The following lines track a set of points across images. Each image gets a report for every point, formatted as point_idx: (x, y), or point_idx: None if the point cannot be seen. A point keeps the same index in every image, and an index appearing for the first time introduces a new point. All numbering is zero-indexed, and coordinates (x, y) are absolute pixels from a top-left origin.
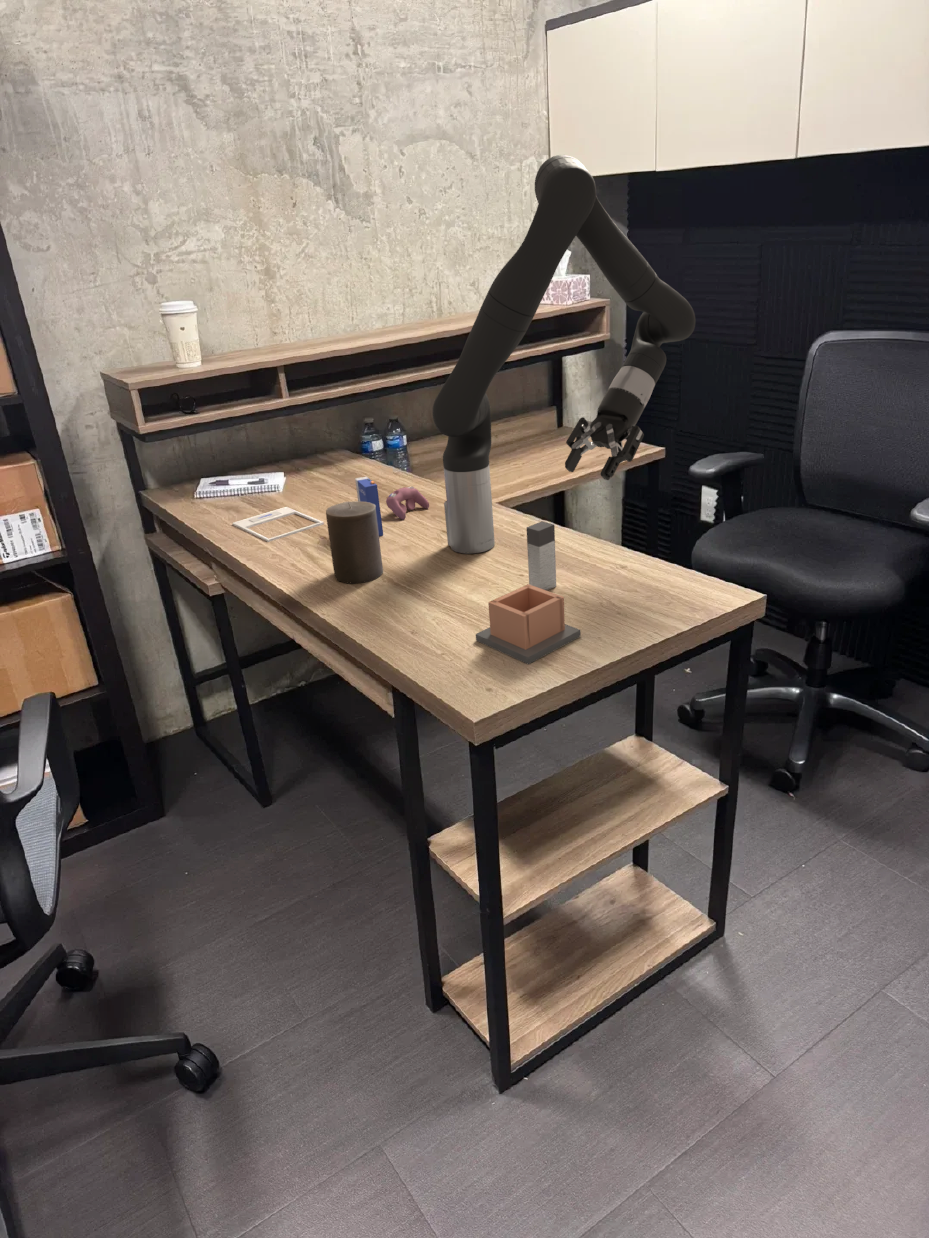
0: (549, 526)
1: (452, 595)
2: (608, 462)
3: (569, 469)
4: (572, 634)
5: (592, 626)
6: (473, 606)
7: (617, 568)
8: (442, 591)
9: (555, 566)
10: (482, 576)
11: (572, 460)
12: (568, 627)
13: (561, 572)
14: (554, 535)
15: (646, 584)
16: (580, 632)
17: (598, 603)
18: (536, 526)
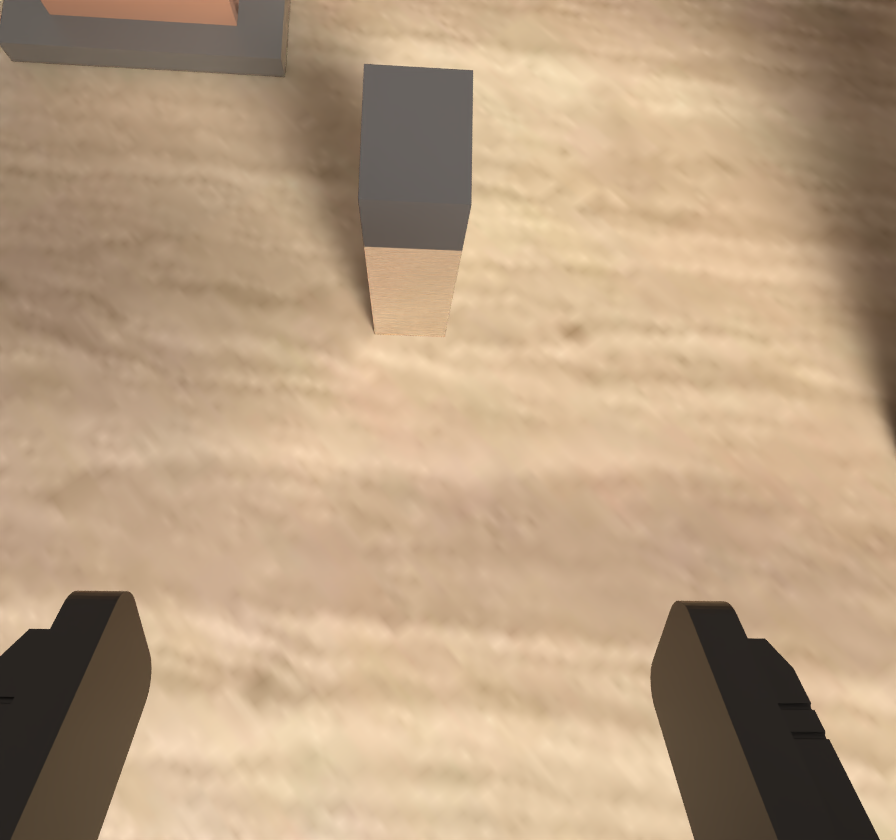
0: (362, 157)
1: (641, 43)
2: (3, 748)
3: (664, 628)
4: (5, 5)
5: (22, 144)
6: (505, 22)
7: (275, 656)
8: (699, 47)
9: (371, 302)
10: (692, 230)
11: (711, 713)
12: (48, 33)
13: (457, 459)
14: (362, 230)
15: (54, 587)
16: (3, 49)
17: (122, 309)
18: (432, 114)
